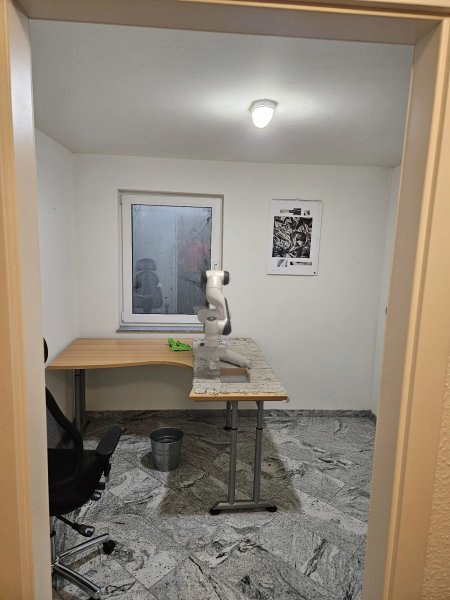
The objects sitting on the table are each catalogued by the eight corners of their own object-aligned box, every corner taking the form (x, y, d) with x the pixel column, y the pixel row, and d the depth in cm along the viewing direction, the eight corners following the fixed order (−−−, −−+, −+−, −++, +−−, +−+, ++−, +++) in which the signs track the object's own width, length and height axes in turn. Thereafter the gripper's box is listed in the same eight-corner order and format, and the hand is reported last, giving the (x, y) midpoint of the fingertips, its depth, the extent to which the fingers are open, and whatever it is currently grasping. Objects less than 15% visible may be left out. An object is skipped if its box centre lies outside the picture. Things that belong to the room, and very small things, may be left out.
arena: (219, 376, 237) (220, 367, 236) (247, 375, 238) (247, 367, 238) (221, 382, 224) (221, 373, 223) (250, 382, 226) (250, 373, 225)
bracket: (209, 364, 237) (209, 356, 236) (215, 364, 237) (215, 356, 236) (209, 369, 228) (210, 360, 227) (216, 369, 228) (216, 360, 227)
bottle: (216, 356, 272) (243, 367, 249) (222, 345, 274) (249, 355, 251) (224, 361, 277) (251, 372, 254) (229, 351, 279) (256, 361, 256)
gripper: (227, 341, 234) (226, 362, 236) (195, 341, 233) (195, 362, 234) (227, 343, 228) (227, 364, 230) (195, 343, 226) (195, 365, 228)
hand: (210, 363), depth 232 cm, fingers closed on bracket, 2 cm apart
